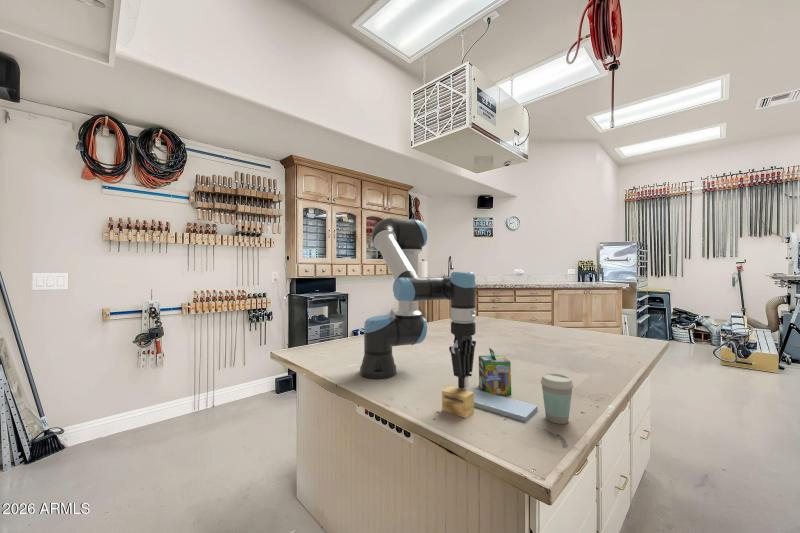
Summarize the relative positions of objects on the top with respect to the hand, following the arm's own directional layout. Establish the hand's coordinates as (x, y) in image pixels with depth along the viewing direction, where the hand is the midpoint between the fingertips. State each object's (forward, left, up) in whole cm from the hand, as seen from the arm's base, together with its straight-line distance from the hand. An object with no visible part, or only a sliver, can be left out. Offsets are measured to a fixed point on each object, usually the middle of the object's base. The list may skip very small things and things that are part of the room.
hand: (463, 397), depth 99 cm
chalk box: (+1, +20, -4) cm, 21 cm away
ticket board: (+6, +8, -3) cm, 11 cm away
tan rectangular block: (0, -3, -3) cm, 5 cm away
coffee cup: (+24, +11, -4) cm, 27 cm away
